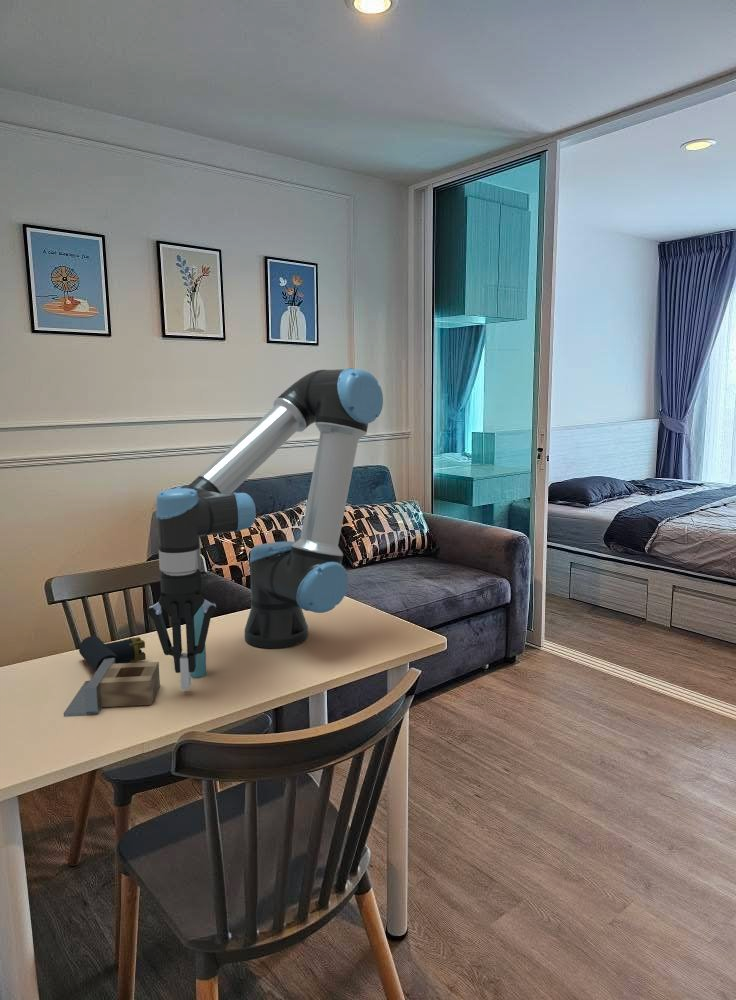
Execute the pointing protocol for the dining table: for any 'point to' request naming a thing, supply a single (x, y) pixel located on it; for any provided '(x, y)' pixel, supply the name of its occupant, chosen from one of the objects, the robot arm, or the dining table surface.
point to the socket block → (130, 684)
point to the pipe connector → (111, 651)
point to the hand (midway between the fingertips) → (186, 687)
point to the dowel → (200, 658)
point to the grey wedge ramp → (89, 693)
